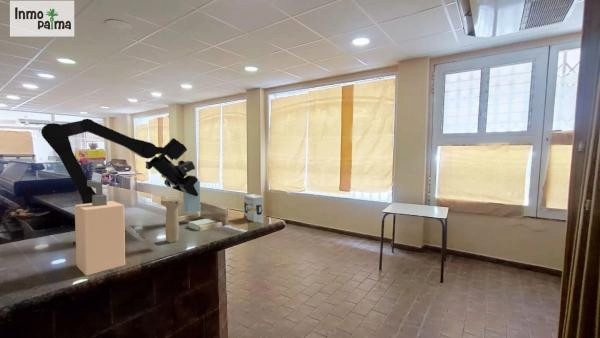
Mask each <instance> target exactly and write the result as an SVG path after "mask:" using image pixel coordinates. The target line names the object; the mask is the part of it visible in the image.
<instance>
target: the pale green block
mask: <svg viewBox="0 0 600 338" xmlns="http://www.w3.org/2000/svg"><path fill="white" fill-rule="evenodd" d="M212 223H217V222H216V221H215V220H211V219H208V218H207V219H206V218H202V219H198V220H193V221H189V222H188V228H190V229H192V230H194V231H195V230H196V231H200V230H199V226H202V225H207V224H212Z"/></svg>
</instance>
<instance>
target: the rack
mask: <svg viewBox="0 0 600 338" xmlns="http://www.w3.org/2000/svg"><path fill="white" fill-rule="evenodd" d="M199 212H200V214H199V213H193V214H189V215H188V214H187V215H182V216H178V221H179V222H181V221H187V220H192V219H199V217H201V218H202V219H207V218H208V219H211V220H215V221H216V223H212V224H207V225H202V226H199V230H198V231H199V232H201V231H206V230H211V229H216V228H220V227H223V226H225V227H226V226H229V208H227V207H223V206H221V205H216V204H213V203H209V202H206V201H200V211H199Z"/></svg>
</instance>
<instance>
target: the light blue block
mask: <svg viewBox="0 0 600 338" xmlns="http://www.w3.org/2000/svg"><path fill="white" fill-rule="evenodd" d="M194 187H195V189H196V191H197V193H198V196H194V195H191V194H189V193H186V192H182V193H183V194H182V195H183V198H182V199H183V206H182V207H183V212H184V213H187V214H188V213H190V214H191V213H195V212H200V202H201V181H200V180H198V181H197V182H196V183H195V184H194Z"/></svg>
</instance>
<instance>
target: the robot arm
mask: <svg viewBox="0 0 600 338" xmlns="http://www.w3.org/2000/svg"><path fill="white" fill-rule="evenodd" d="M83 133H89V134H92V135H95V136H98V137H99V138H101V139H104V140H107V141H109V142H112V143H114V144H116V145H118V146H121V147H124V148H126V149H127V150H129V151H131V153H134V154H135V155H137V156H139V157H140V158H143V159H147V160H149V159H150V160H149V161H147V160H146V161H145V169H147V170H151V169H152V168H154V170H156V171H157V172H158V173H159V174H160V175H161V177H162V178H163V179H164V185H165V186H166V187H167V188H172V189H174V190H176V191H179V192H182V193H183V192H186V193H189V194H191V195H194V196H198V193H197V191H196V189H195V187H194V184H195V183H196V182H197V181H199V178H198V177H197V176H196V175H189V174H188V173H189V172H191V171H193V170H196V166H195V165H194V161H193V160H186V161H184V160H179V161H178V159H179V158H180V157H181V156H182V155H184V154H185V153H187V151H188V149H187V147H186V146H185V144H183V143H182V142H180V141H179V140H177V139H176V138H171V139H170V140H169V141H168V142H167V143H166V144H165V145H164V146H156V145H155V144H154V143H152V142H149V141H145V140H142V139H137V138H133V137H130V136H128V135H126V134H124V133H121V132H119V131H117V130H113V129H111V128H110V127H107V126H105V125H102V124H101V123H97V122H96V121H94V120H93V119H90V118H84V119H82V120H77V121H72V122H67V123H64V124H63V123H62V124H59V123H54V122H52V123H48V124H46V125H45V124H44V126H43V127H42V129H41V132H40V134H41V136H42V138H43V140H44V141H45V142H47V144H48V146H50V147H51V148H52V150H53V151H54V152H55V153H56V154H57V155H58V157H59V159H60V161H61V162H62V165H63V166H64V168H65V169H66V171H67V173H68V175H69V177H70V179H71V181H72V183H73V185H74V186H75V188H76V190H77V191H78V193H79V195H80V199H81V201H82V204H88V203H92V195H96V191H94V188H93V187H89V186H87V180H88V178H87V177H86V173H84V170H83V168H82V167H81V165H80V163H79V161H78V159H77V157H76V155H75V153H74V151H73V148H72V144H71V141H70V137H71V136H76V135H81V134H83ZM156 155H158V156H156ZM173 160H175V161H178V162H177V165H175V164H174V163H173V162H171V161H173ZM72 244H73V245H76V240H74V241H72Z"/></svg>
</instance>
